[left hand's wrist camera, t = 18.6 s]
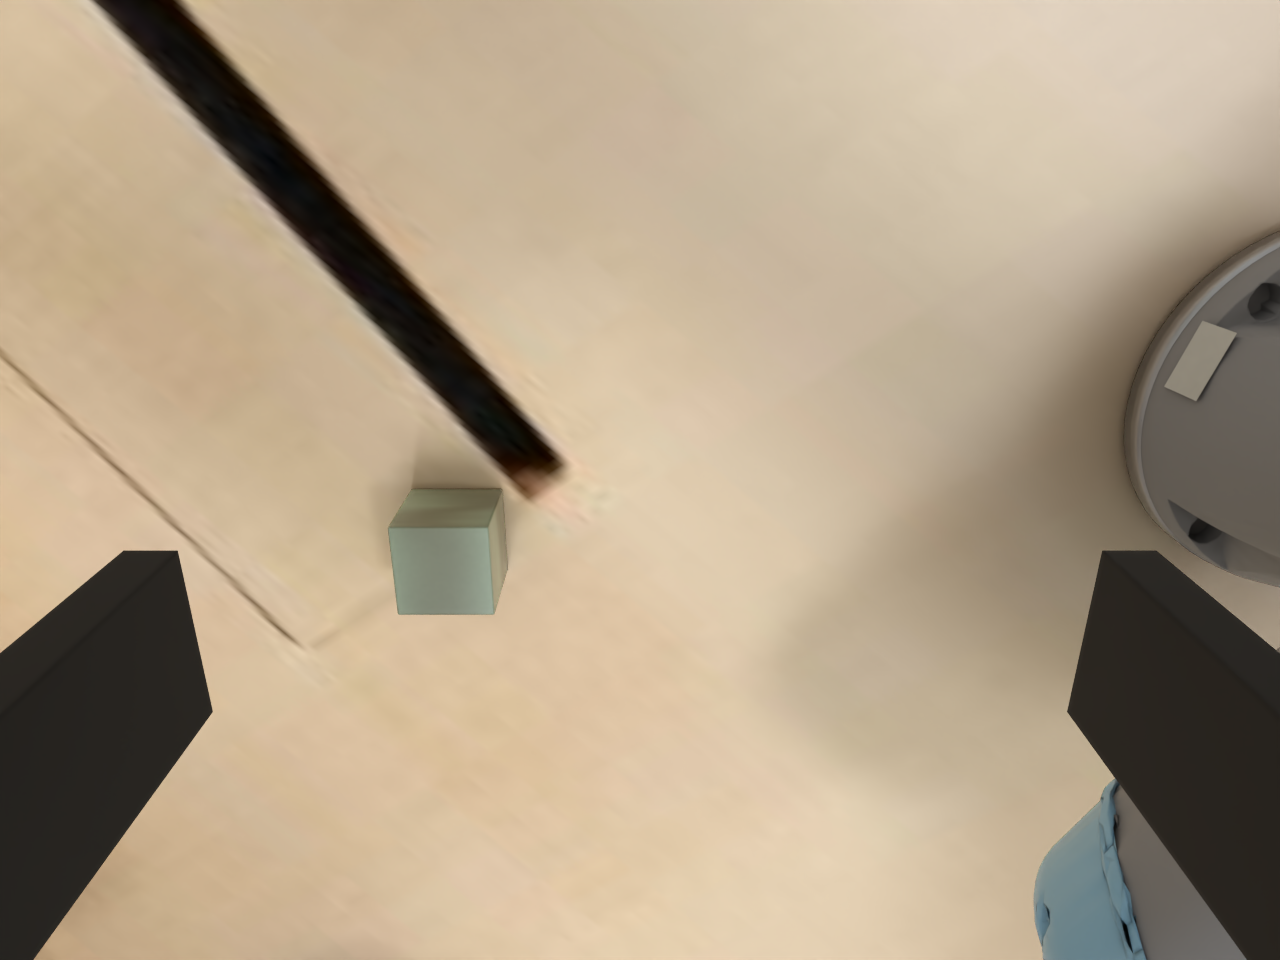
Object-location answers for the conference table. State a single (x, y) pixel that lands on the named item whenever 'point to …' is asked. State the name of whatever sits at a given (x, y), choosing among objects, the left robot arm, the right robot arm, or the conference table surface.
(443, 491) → the sage block
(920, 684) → the conference table surface
